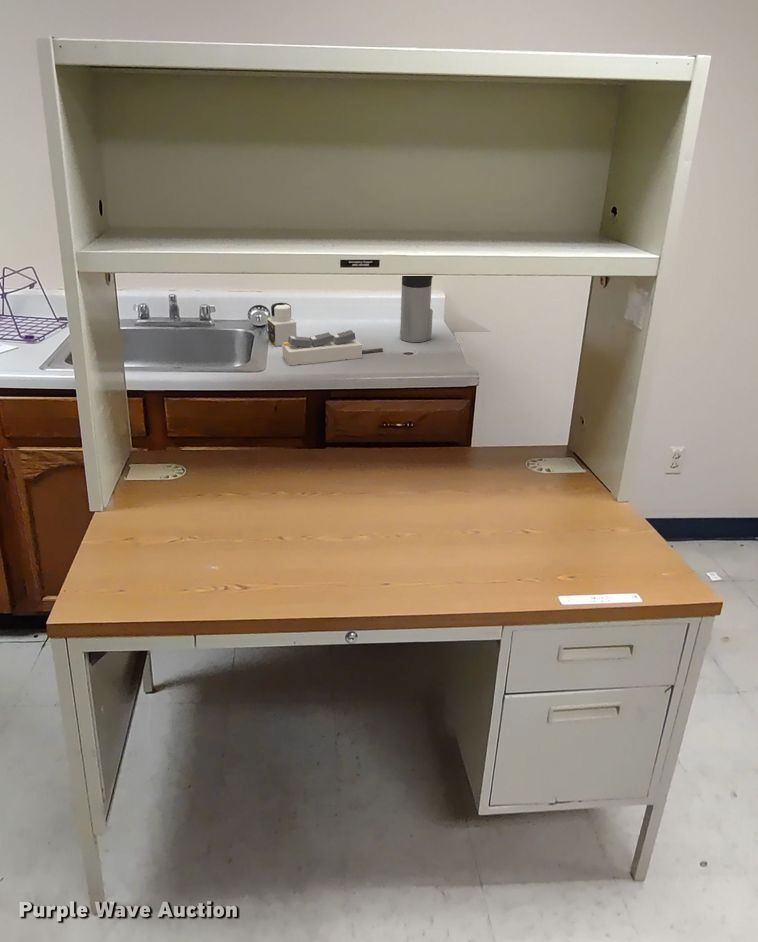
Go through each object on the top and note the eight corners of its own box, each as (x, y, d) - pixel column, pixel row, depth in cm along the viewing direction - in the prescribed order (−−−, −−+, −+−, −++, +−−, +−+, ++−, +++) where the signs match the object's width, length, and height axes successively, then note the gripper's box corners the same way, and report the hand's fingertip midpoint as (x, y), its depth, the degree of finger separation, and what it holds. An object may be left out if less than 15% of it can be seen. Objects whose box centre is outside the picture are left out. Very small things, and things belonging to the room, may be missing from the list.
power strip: (377, 347, 233) (377, 332, 231) (386, 355, 226) (387, 340, 224) (282, 356, 223) (282, 341, 221) (289, 365, 217) (289, 350, 215)
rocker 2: (351, 335, 226) (350, 329, 225) (355, 339, 223) (354, 332, 222) (333, 340, 224) (331, 334, 223) (336, 344, 222) (335, 338, 221)
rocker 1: (307, 343, 222) (308, 336, 221) (310, 346, 219) (311, 340, 218) (287, 341, 220) (288, 335, 219) (290, 345, 217) (291, 338, 216)
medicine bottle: (268, 340, 238) (266, 302, 232) (289, 337, 240) (288, 300, 235) (275, 346, 232) (273, 308, 226) (297, 344, 235) (295, 305, 229)
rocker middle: (329, 338, 224) (328, 331, 223) (333, 341, 221) (332, 335, 220) (310, 342, 222) (309, 336, 221) (313, 346, 219) (312, 340, 218)
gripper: (351, 184, 219) (351, 245, 227) (307, 185, 215) (309, 247, 223) (360, 187, 213) (359, 250, 221) (315, 188, 209) (316, 252, 217)
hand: (334, 248), depth 222 cm, fingers closed
